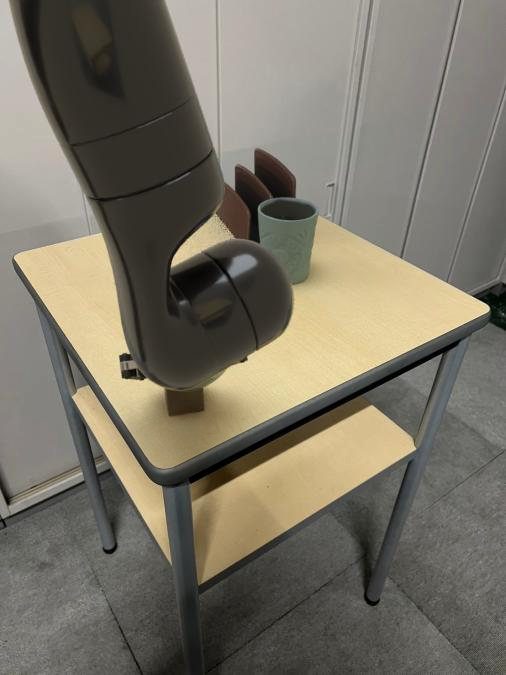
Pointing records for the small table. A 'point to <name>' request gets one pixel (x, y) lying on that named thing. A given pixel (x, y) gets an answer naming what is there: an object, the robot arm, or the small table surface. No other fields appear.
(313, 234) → the green cup
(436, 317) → the small table surface
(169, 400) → the walnut block
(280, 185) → the letter holder
